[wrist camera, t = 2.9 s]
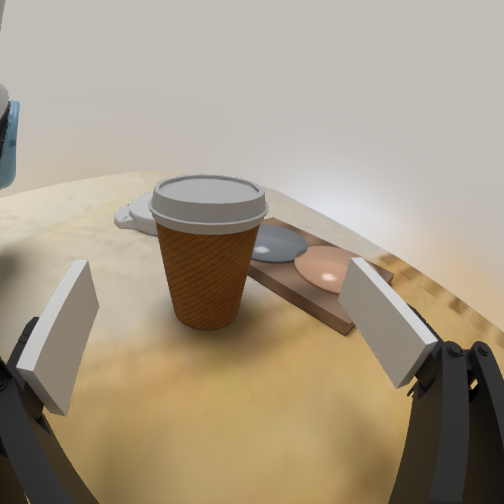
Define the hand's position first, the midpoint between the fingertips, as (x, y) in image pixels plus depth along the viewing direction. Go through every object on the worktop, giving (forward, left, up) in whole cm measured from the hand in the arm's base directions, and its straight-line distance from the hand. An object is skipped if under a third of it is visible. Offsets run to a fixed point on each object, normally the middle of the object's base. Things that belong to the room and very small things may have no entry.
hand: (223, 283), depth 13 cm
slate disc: (-13, +19, -8) cm, 24 cm away
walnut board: (-8, +20, -10) cm, 24 cm away
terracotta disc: (-3, +21, -9) cm, 23 cm away
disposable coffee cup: (-9, +5, -10) cm, 14 cm away
